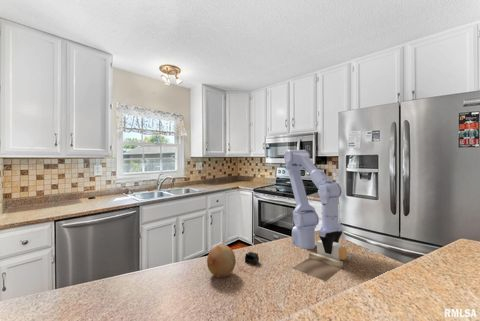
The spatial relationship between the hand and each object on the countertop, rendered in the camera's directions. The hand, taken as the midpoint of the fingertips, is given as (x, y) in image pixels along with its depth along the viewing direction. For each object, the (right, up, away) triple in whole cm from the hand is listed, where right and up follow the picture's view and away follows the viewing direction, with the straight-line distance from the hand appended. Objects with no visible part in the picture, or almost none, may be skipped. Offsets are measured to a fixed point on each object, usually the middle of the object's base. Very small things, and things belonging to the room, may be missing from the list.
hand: (330, 251), depth 82 cm
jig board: (-4, -4, -3) cm, 6 cm away
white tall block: (0, -2, 0) cm, 2 cm away
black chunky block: (-30, -5, -1) cm, 30 cm away
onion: (-40, -5, -9) cm, 41 cm away
